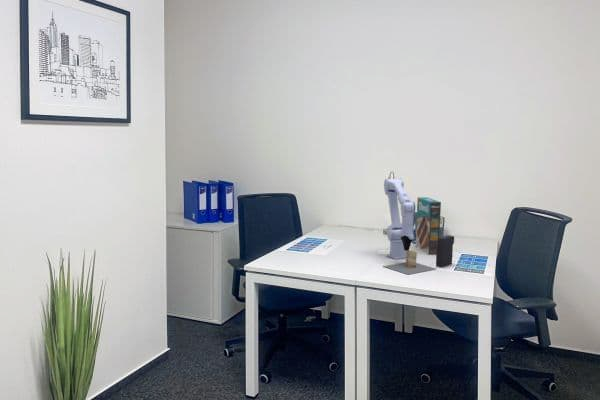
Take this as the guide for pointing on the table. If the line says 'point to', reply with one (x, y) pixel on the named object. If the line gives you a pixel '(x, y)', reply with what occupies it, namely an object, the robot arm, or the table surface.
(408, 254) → the maple block
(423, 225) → the cake mix box
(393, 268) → the mat
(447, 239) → the small drawer cabinet
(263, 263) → the table surface
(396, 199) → the robot arm
